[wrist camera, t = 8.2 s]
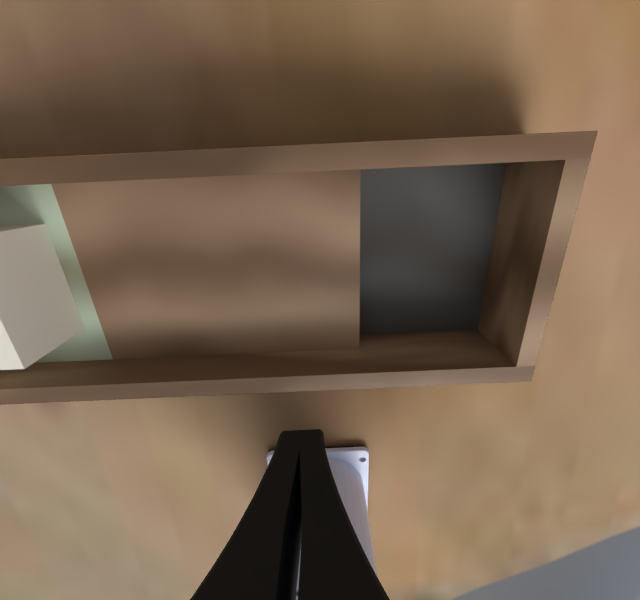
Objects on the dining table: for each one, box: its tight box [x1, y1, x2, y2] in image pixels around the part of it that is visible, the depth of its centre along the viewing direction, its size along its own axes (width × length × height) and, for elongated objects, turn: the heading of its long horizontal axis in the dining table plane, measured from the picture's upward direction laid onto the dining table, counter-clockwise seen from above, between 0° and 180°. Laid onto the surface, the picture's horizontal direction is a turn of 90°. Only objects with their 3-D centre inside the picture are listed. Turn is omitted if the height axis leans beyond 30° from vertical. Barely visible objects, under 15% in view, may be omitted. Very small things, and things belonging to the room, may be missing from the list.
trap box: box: [0, 131, 598, 405], centre depth 17 cm, size 12×32×4 cm, turn 92°
